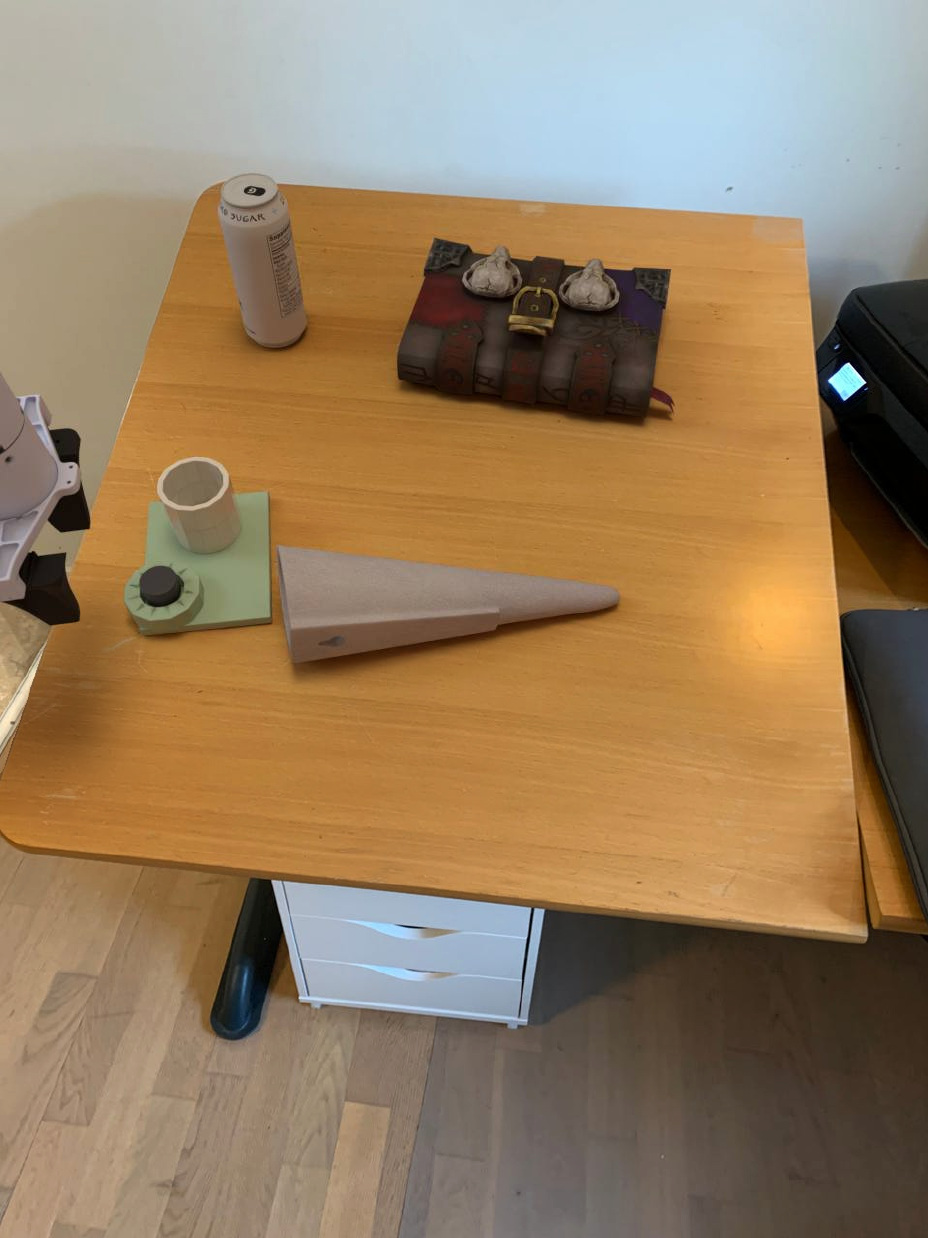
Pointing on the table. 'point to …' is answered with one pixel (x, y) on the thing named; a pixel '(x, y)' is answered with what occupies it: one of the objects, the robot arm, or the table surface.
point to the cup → (200, 504)
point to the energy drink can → (262, 259)
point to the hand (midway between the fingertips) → (70, 571)
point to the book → (536, 330)
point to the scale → (208, 575)
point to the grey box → (409, 601)
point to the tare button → (160, 585)
